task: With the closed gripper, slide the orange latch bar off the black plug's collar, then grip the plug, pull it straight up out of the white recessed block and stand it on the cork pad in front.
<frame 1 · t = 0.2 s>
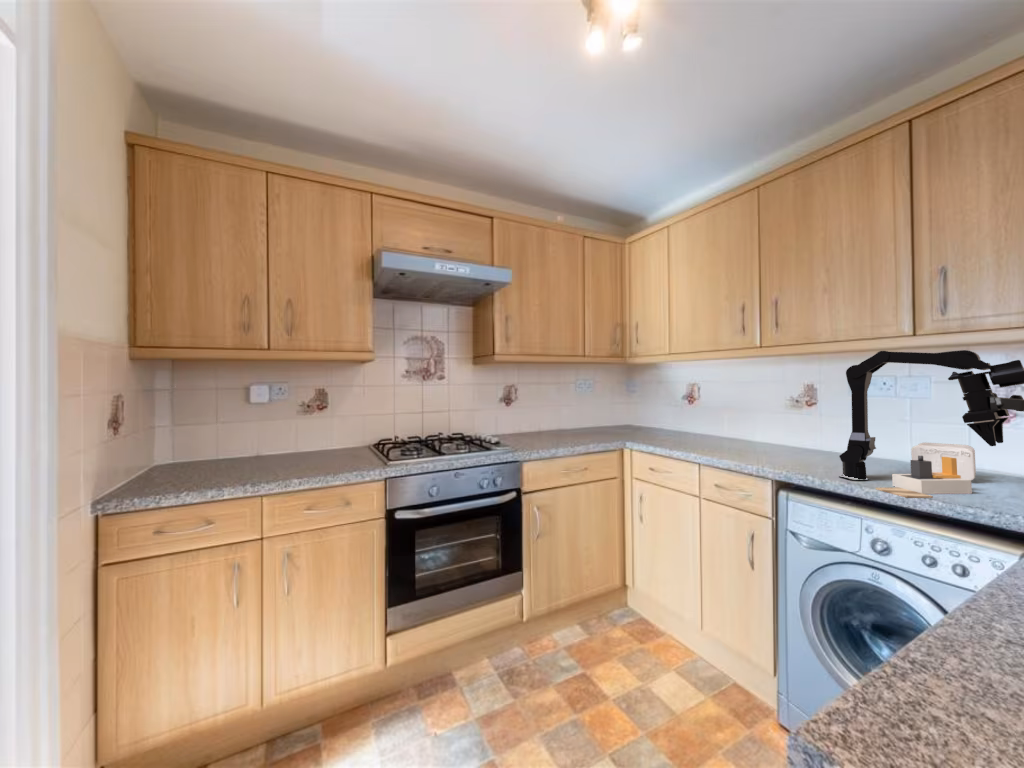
hand: (997, 444, 119), 15 cm above the counter, tool pointing down, fingers open, 9 cm apart
cable organizer: (944, 479, 143), on the counter
plug: (921, 480, 128), point 3 cm above the counter, touching white recessed block
white recessed block: (930, 490, 127), on the counter
latch: (940, 467, 127), point 7 cm above the counter, slide at 0.0 cm
cork pad: (902, 493, 124), on the counter
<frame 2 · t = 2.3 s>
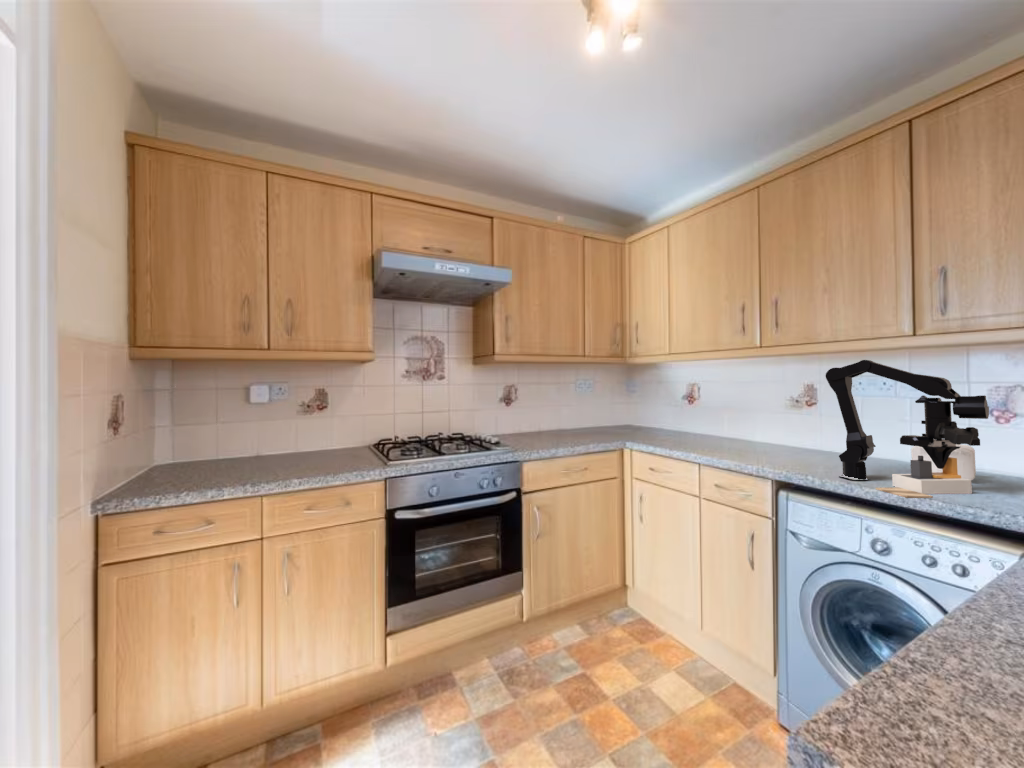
hand: (940, 468, 127), 7 cm above the counter, tool pointing down, fingers closed
latch: (940, 467, 127), point 7 cm above the counter, slide at 0.1 cm, touching gripper
everything else where it was.
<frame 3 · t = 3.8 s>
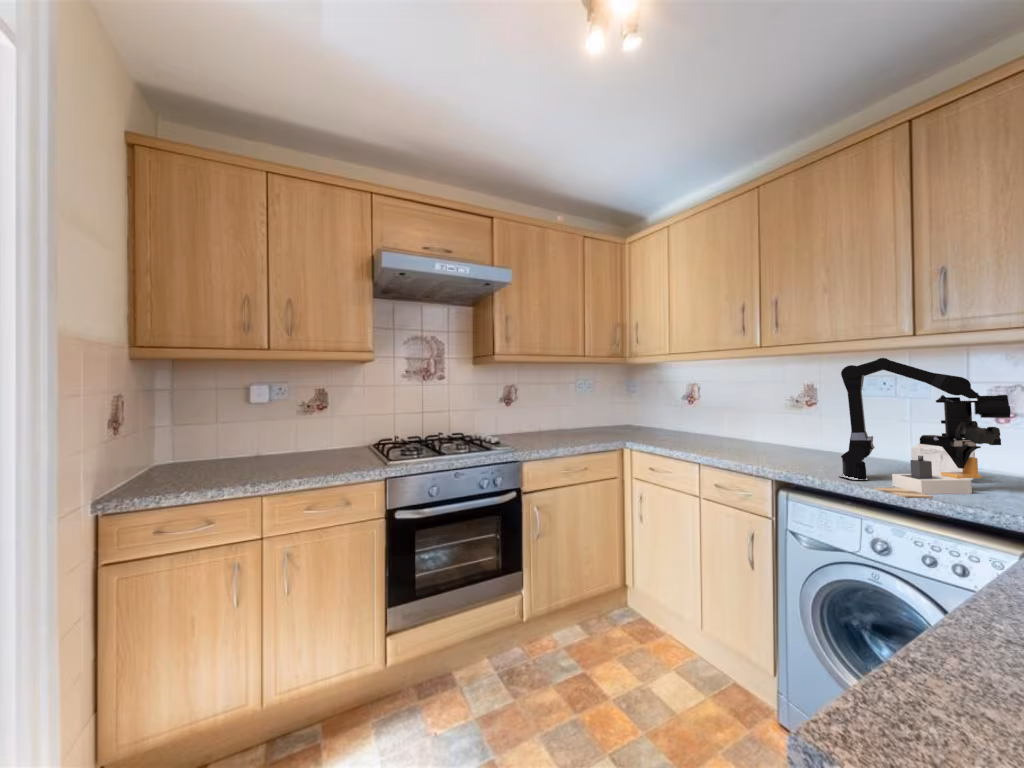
hand: (960, 468, 127), 7 cm above the counter, tool pointing down, fingers closed
latch: (960, 466, 127), point 7 cm above the counter, slide at 6.0 cm, touching gripper
everything else where it was.
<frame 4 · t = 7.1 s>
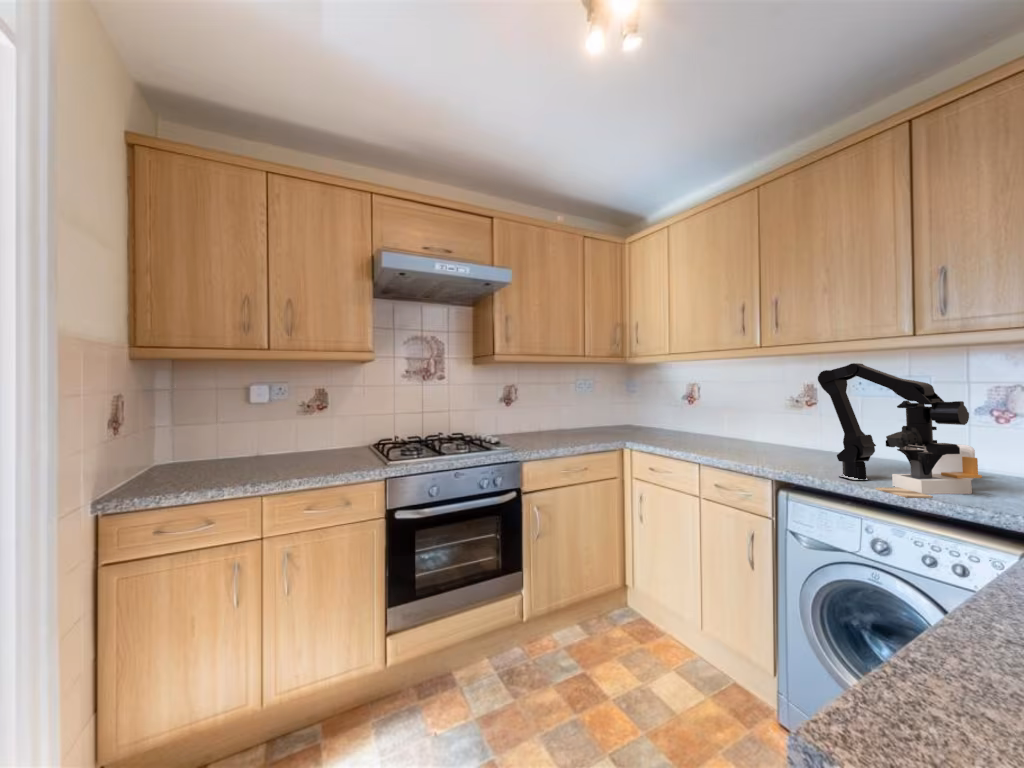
hand: (921, 473, 128), 5 cm above the counter, tool pointing down, fingers closed on plug, 3 cm apart
plug: (921, 480, 128), point 3 cm above the counter, touching gripper, white recessed block
latch: (960, 466, 127), point 7 cm above the counter, slide at 6.0 cm
everything else where it was.
when the fingers open (4 cm above the counter, at t = 11.6 s): plug drops 1 cm, resting on cork pad.
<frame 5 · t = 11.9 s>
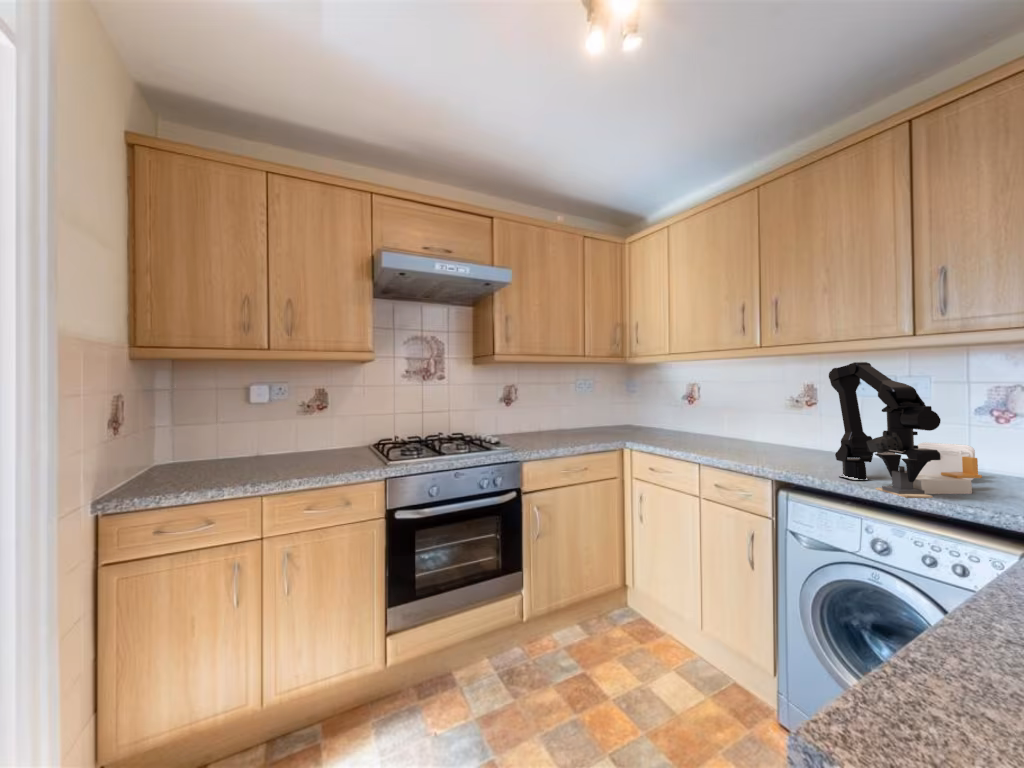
hand: (902, 479, 124), 4 cm above the counter, tool pointing down, fingers open, 6 cm apart
plug: (902, 491, 124), resting on cork pad
everything else where it was.
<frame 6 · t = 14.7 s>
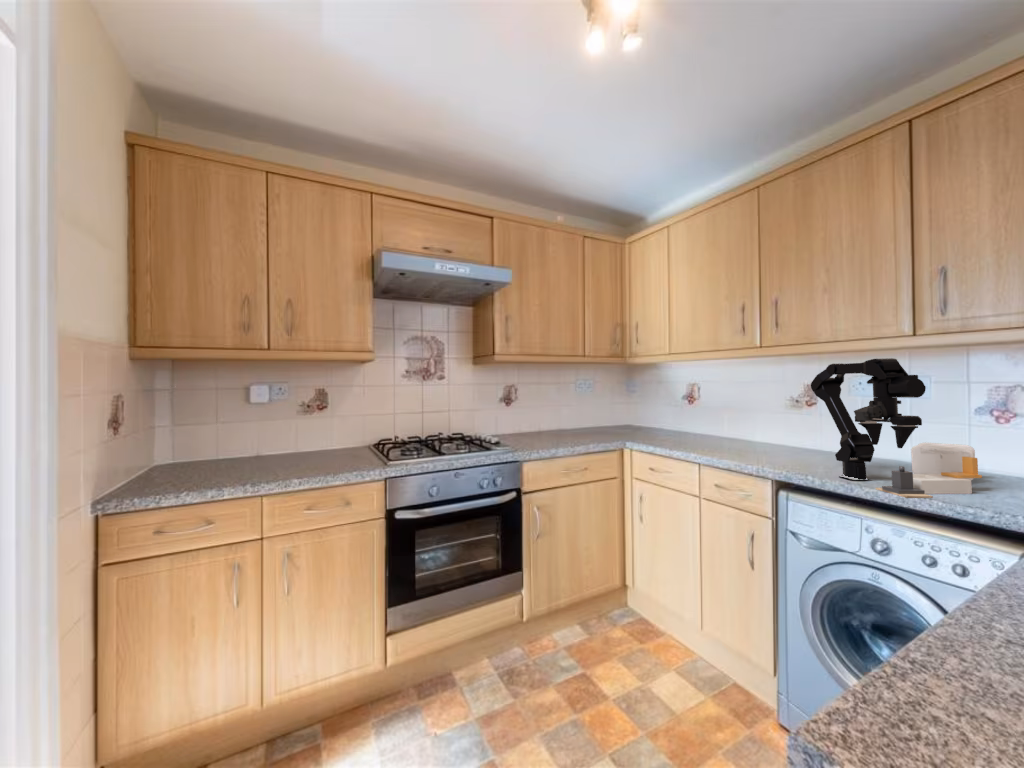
hand: (887, 446, 132), 13 cm above the counter, tool pointing down, fingers open, 9 cm apart
nothing on the counter moved.
at the end: latch slide at 6.0 cm; plug inside the target area (0.0 cm from its centre), point 0.5 cm above the counter; plug tilted 0° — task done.
